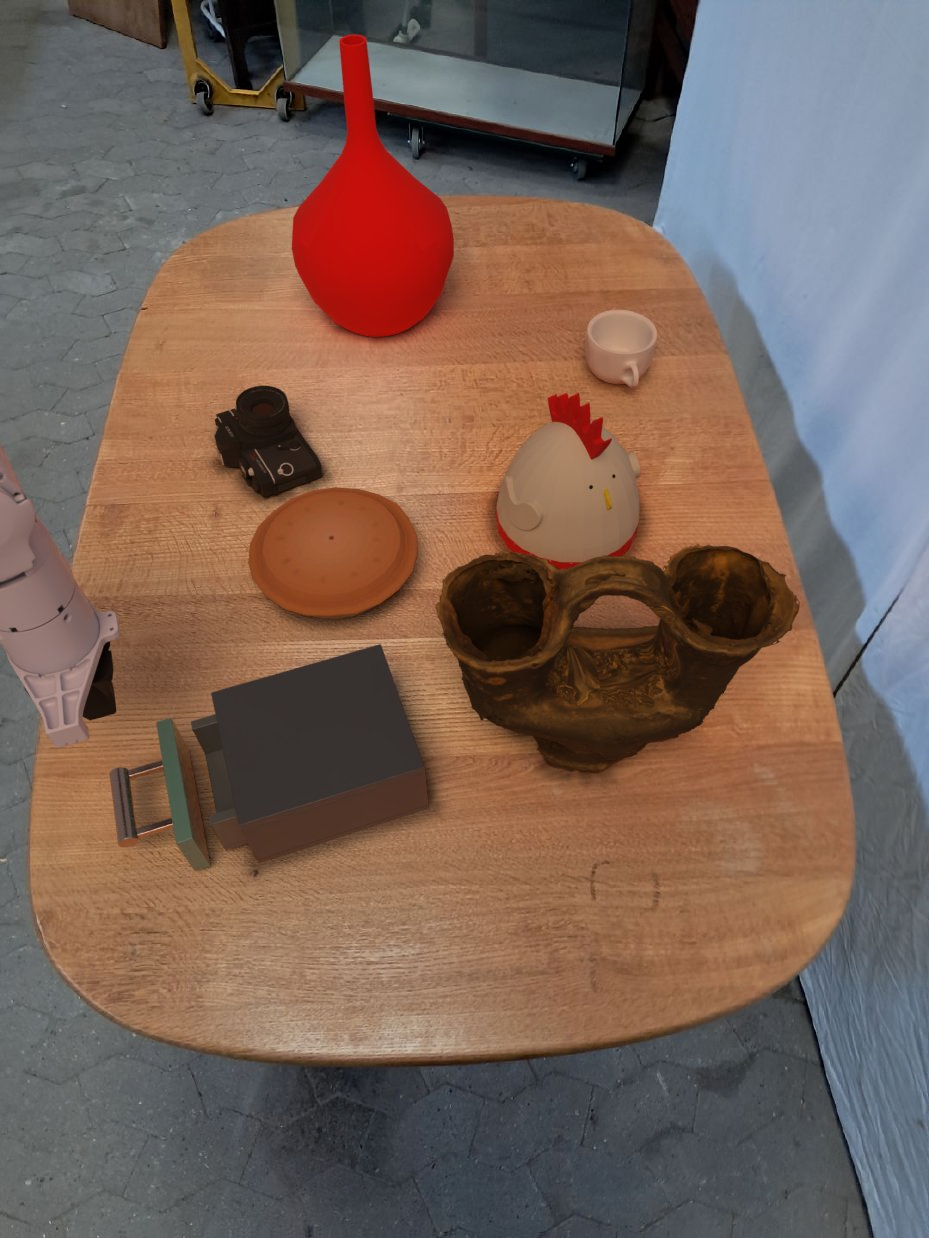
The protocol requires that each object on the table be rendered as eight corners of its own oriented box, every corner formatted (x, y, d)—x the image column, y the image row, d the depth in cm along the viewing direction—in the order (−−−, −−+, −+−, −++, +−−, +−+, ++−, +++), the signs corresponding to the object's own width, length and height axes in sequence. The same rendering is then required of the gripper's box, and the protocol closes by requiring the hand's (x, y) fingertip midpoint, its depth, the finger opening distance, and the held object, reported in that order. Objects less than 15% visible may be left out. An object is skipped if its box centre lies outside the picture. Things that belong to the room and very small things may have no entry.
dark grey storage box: (258, 864, 69) (238, 825, 63) (230, 737, 75) (210, 692, 70) (428, 809, 71) (424, 767, 66) (387, 690, 78) (380, 643, 72)
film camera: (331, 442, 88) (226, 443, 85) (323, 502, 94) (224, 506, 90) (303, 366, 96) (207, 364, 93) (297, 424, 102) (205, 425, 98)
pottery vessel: (726, 661, 79) (789, 504, 63) (754, 774, 73) (832, 630, 57) (441, 671, 79) (432, 515, 63) (443, 784, 73) (433, 643, 57)
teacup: (574, 354, 105) (578, 314, 100) (638, 346, 106) (644, 305, 101) (598, 411, 99) (603, 371, 95) (665, 401, 100) (674, 361, 95)
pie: (232, 548, 88) (220, 512, 84) (378, 492, 92) (373, 456, 88) (291, 665, 80) (281, 632, 76) (448, 598, 84) (446, 563, 80)
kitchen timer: (548, 595, 84) (560, 479, 72) (469, 504, 91) (468, 384, 79) (666, 535, 88) (695, 415, 76) (582, 452, 95) (597, 331, 83)
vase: (315, 268, 116) (273, 1, 92) (458, 270, 115) (453, 2, 91) (293, 359, 105) (238, 83, 81) (451, 361, 104) (443, 85, 80)
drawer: (136, 890, 67) (113, 863, 63) (120, 770, 73) (98, 738, 68) (356, 819, 70) (348, 789, 66) (324, 710, 76) (315, 675, 72)
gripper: (105, 671, 52) (170, 778, 63) (84, 498, 60) (145, 619, 71) (-24, 705, 51) (65, 808, 62) (-27, 524, 59) (52, 643, 70)
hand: (101, 709), depth 66 cm, fingers closed
